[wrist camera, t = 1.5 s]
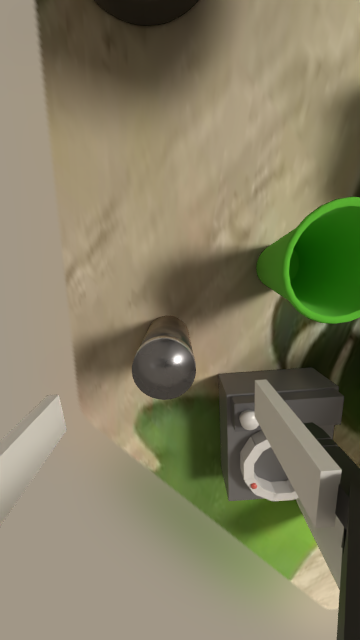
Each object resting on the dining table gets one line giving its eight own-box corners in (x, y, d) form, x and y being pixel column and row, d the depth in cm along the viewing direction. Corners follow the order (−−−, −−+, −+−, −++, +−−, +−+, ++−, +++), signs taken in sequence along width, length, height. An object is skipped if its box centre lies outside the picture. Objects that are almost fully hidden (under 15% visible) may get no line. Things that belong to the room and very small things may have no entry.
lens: (144, 316, 27) (127, 343, 18) (187, 313, 27) (194, 338, 18) (149, 357, 29) (135, 402, 19) (190, 354, 29) (197, 398, 19)
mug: (305, 516, 36) (367, 635, 24) (286, 491, 35) (341, 604, 23) (359, 487, 35) (452, 599, 23) (341, 460, 33) (431, 564, 22)
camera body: (218, 373, 29) (231, 407, 22) (312, 367, 29) (355, 398, 22) (221, 467, 33) (233, 520, 26) (304, 461, 33) (338, 513, 26)
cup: (258, 315, 28) (310, 344, 17) (226, 251, 26) (262, 240, 15) (323, 279, 27) (422, 287, 16) (295, 211, 25) (386, 167, 14)
